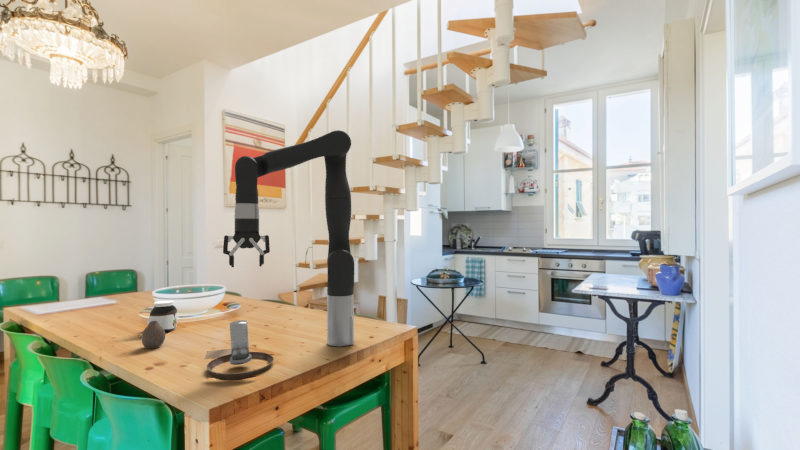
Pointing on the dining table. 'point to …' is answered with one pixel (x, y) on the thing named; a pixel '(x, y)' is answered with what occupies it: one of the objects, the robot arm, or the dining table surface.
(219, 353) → the stand
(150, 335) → the dark brown oval lump
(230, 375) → the brown shallow round tray
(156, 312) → the spread jar
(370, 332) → the dining table surface
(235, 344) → the metal cylinder canister
